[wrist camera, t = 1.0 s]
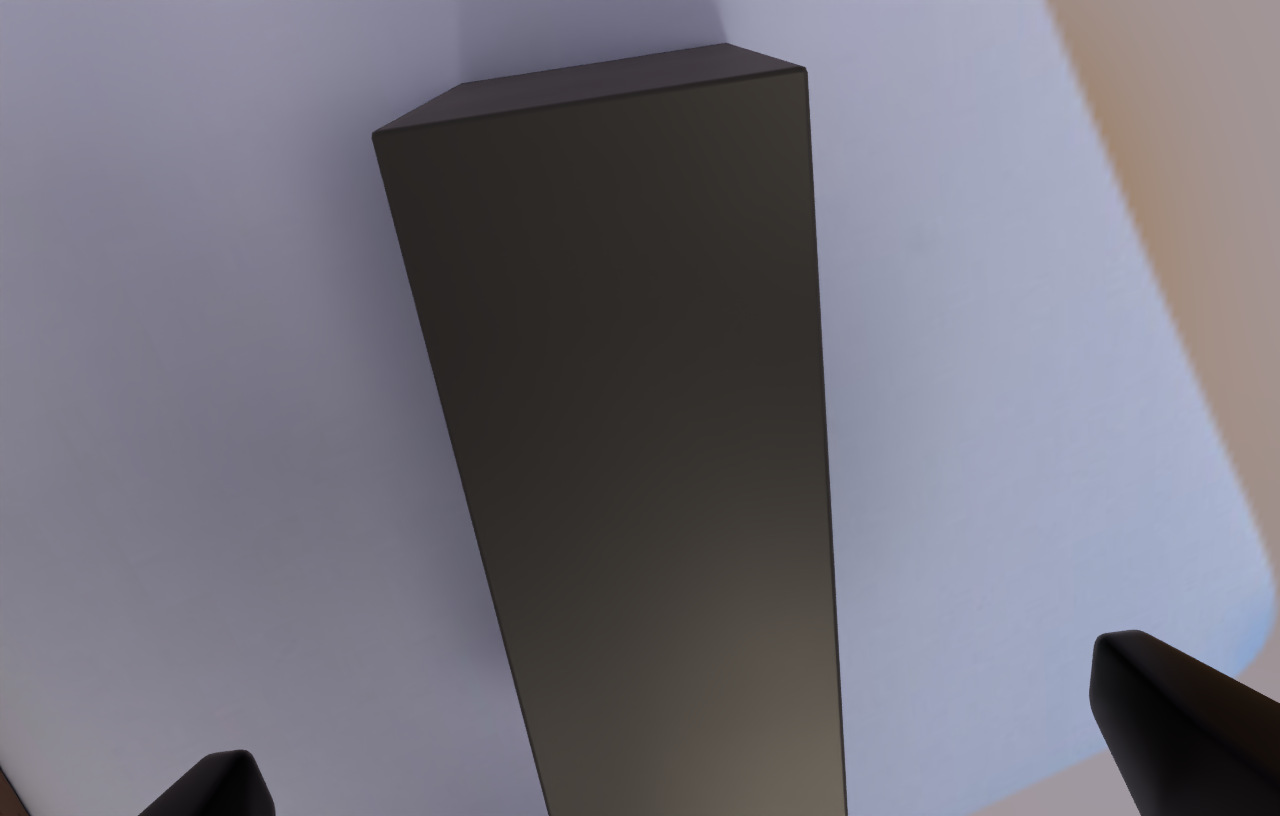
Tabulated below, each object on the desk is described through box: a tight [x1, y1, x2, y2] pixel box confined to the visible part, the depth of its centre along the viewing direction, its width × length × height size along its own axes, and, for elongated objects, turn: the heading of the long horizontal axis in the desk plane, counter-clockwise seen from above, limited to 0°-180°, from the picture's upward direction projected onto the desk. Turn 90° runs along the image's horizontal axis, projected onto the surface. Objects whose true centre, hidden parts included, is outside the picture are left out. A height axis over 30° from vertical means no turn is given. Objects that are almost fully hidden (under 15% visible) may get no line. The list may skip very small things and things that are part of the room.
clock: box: [372, 43, 848, 816], centre depth 14 cm, size 12×5×6 cm, turn 8°
